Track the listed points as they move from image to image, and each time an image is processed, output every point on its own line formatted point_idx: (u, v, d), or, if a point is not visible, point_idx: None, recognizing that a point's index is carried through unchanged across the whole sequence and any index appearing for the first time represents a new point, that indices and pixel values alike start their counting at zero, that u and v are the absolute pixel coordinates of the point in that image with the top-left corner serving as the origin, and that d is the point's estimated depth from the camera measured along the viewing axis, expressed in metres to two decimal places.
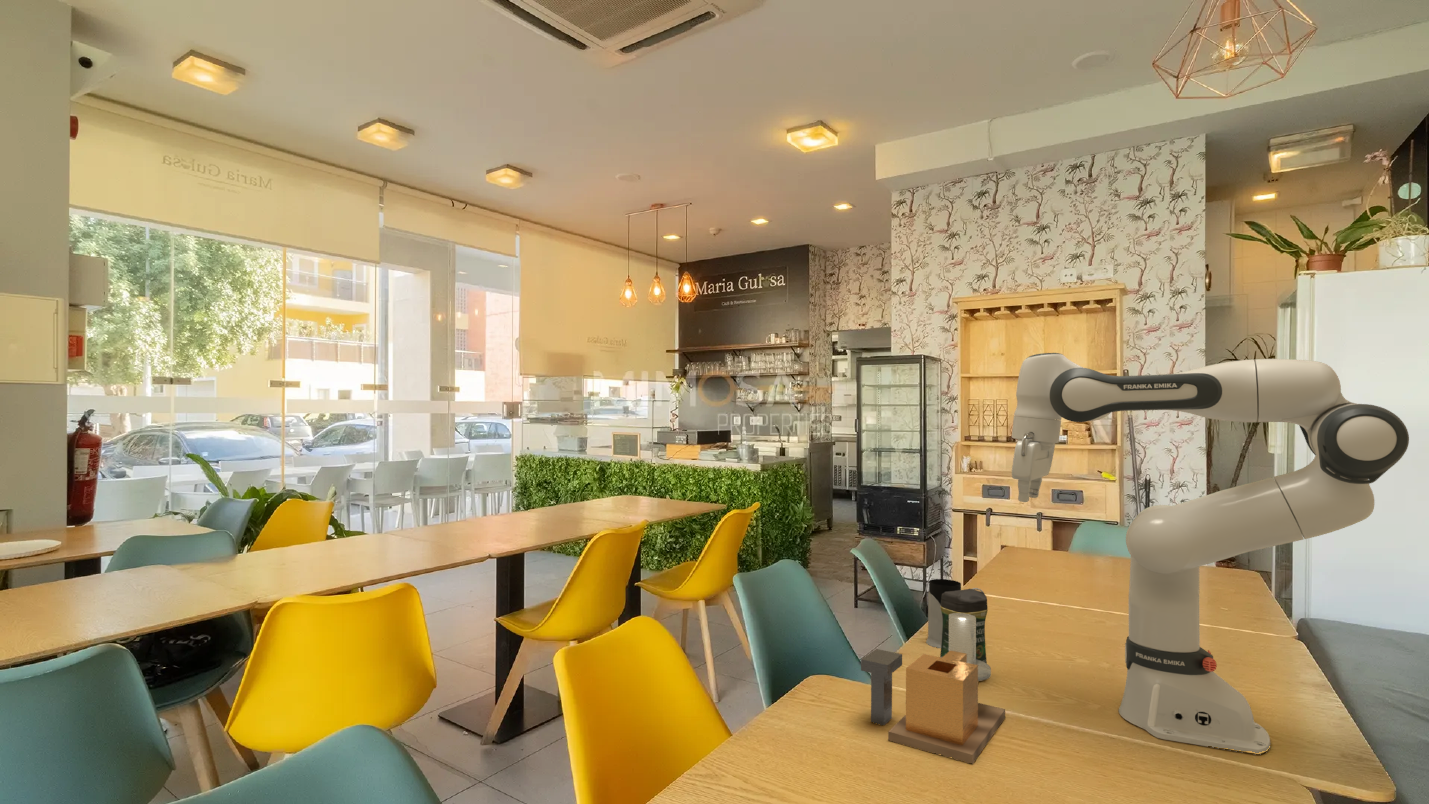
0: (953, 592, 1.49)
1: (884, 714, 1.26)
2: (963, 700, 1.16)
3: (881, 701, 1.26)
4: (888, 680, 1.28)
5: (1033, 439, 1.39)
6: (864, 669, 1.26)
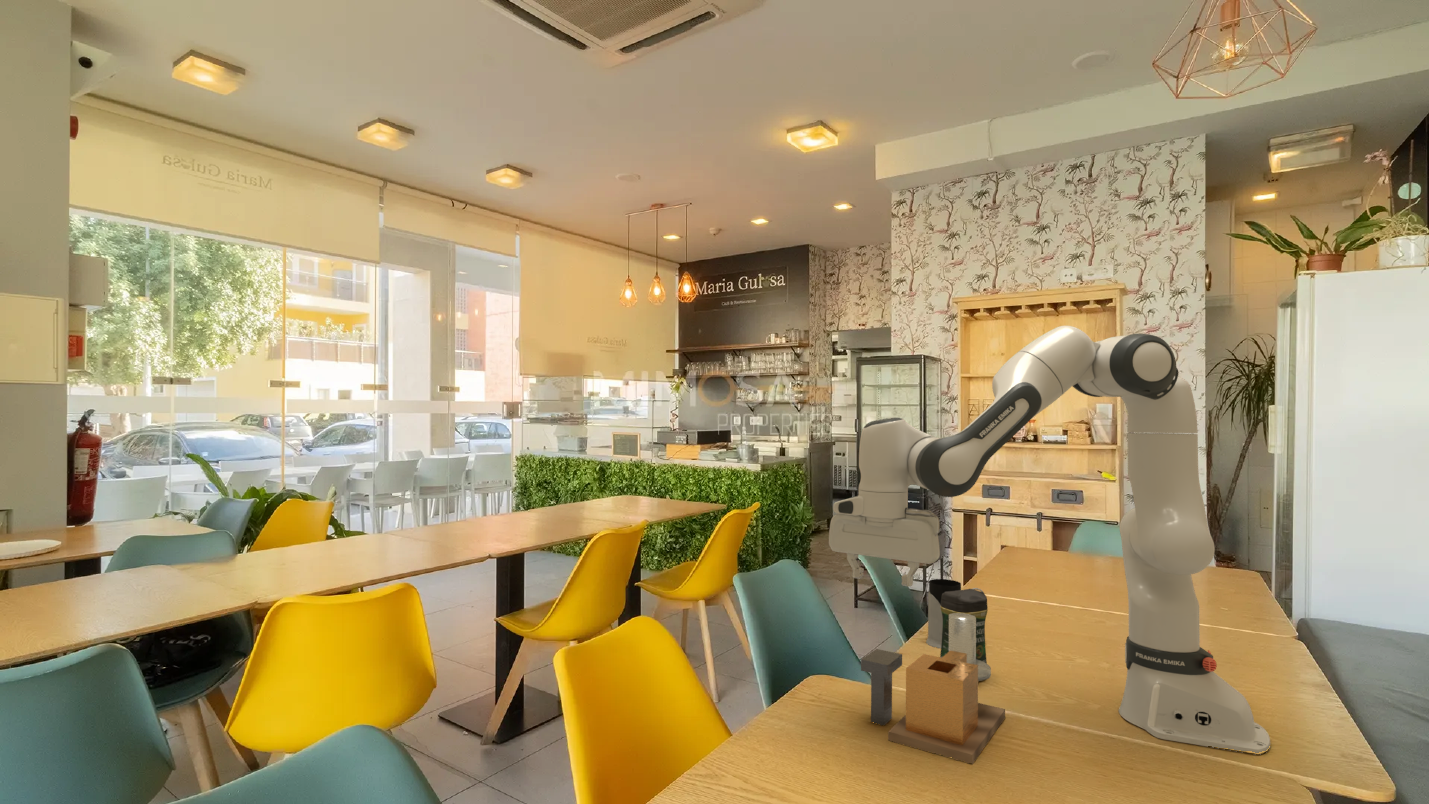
0: (953, 592, 1.49)
1: (884, 714, 1.26)
2: (963, 700, 1.16)
3: (881, 701, 1.26)
4: (888, 680, 1.28)
5: None
6: (864, 669, 1.26)
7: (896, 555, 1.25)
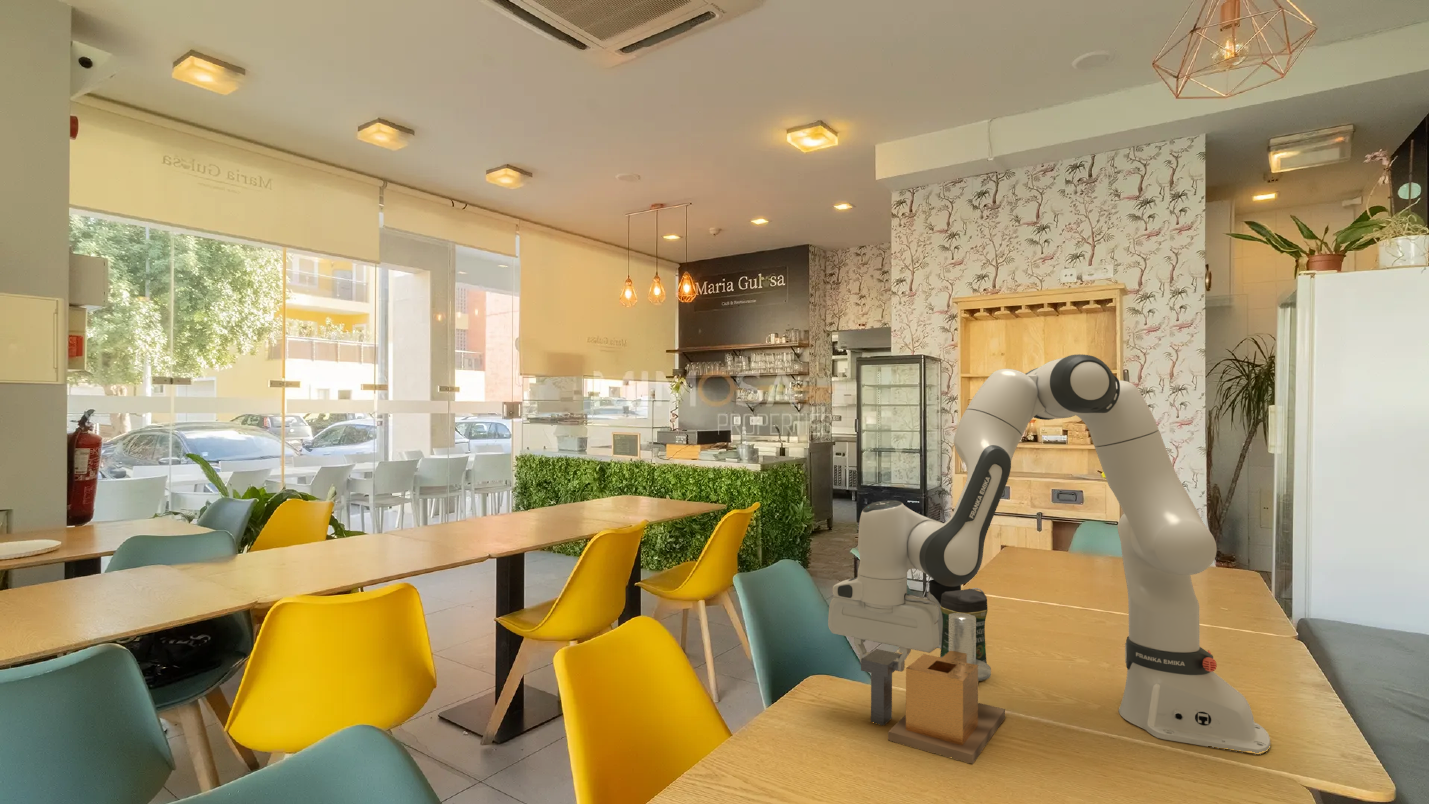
0: (953, 592, 1.49)
1: (884, 714, 1.26)
2: (963, 700, 1.16)
3: (881, 701, 1.26)
4: (888, 680, 1.28)
5: None
6: (864, 669, 1.26)
7: (896, 642, 1.25)
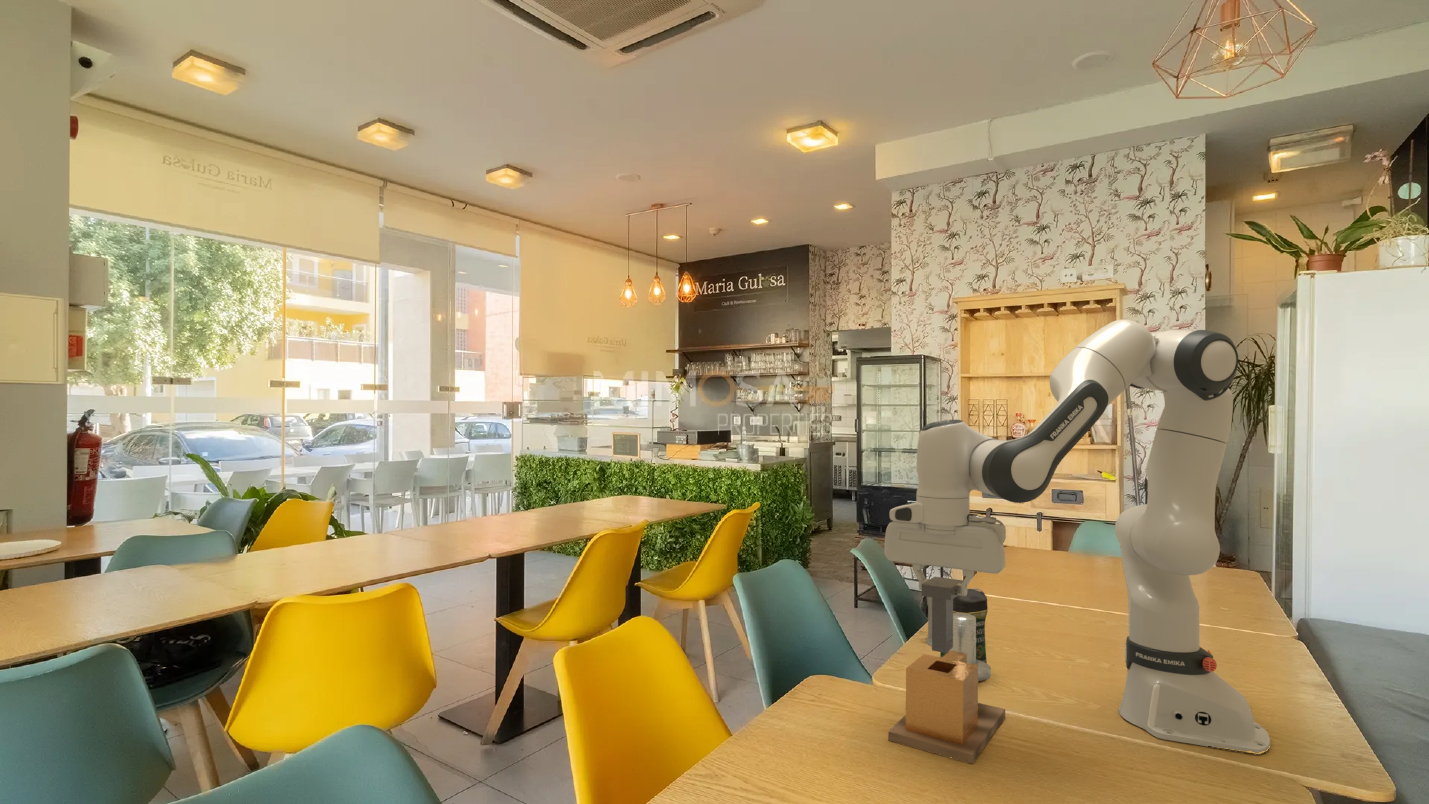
0: None
1: (947, 642, 1.20)
2: (963, 700, 1.16)
3: (943, 627, 1.20)
4: (950, 607, 1.22)
5: None
6: (925, 594, 1.20)
7: (959, 564, 1.19)
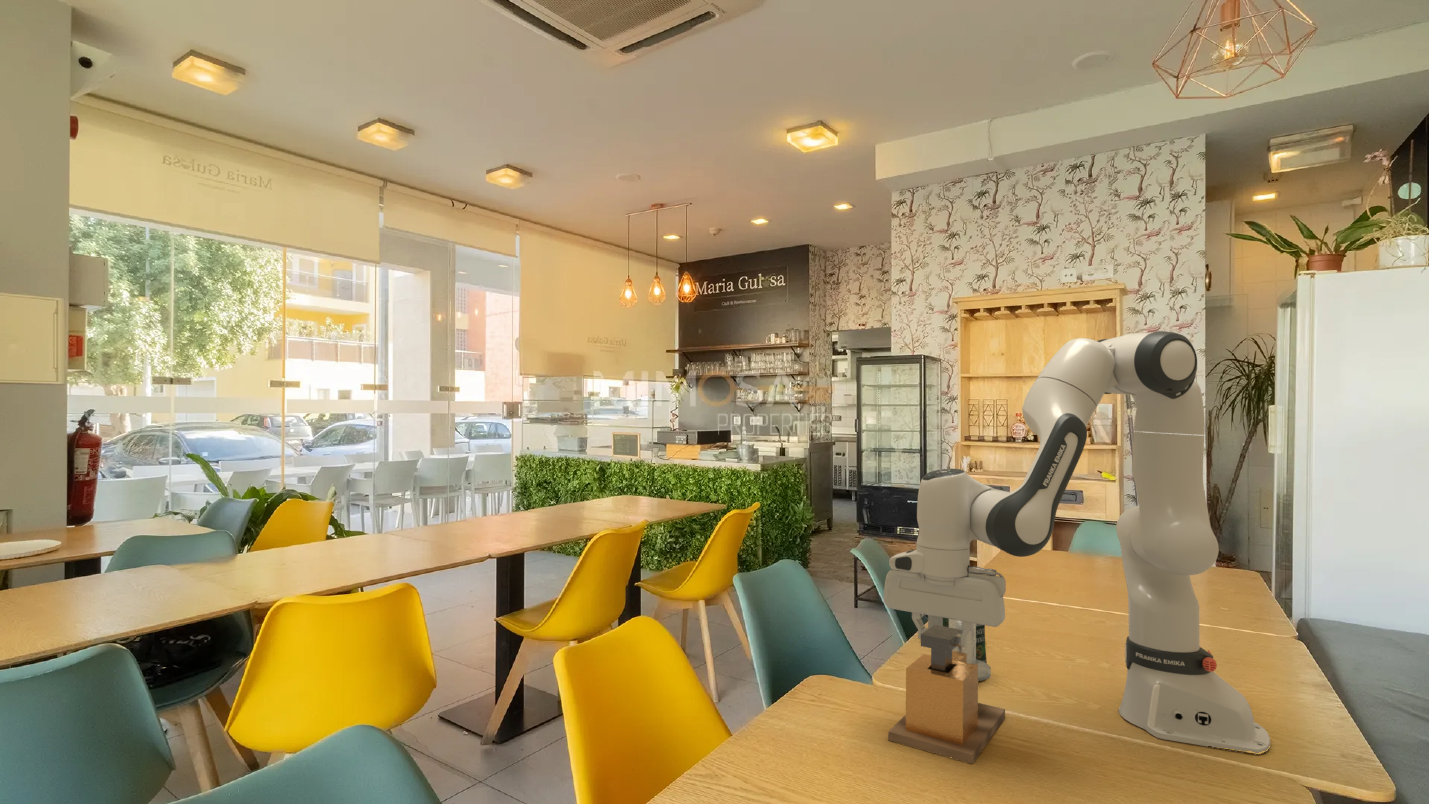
0: None
1: None
2: (963, 700, 1.16)
3: None
4: (949, 657, 1.21)
5: None
6: (924, 645, 1.20)
7: (959, 616, 1.19)
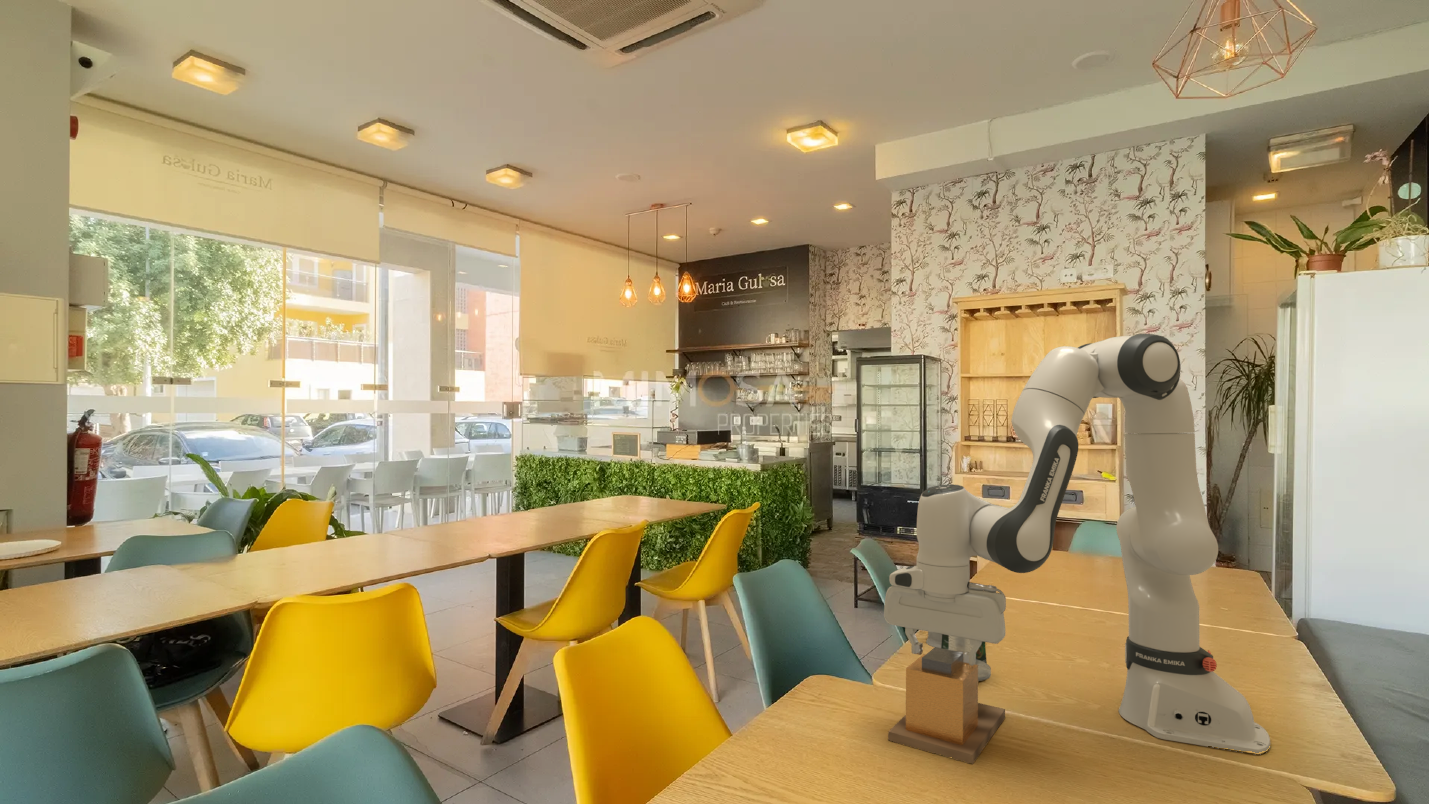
0: None
1: None
2: (963, 700, 1.16)
3: None
4: None
5: None
6: (925, 668, 1.20)
7: (959, 633, 1.18)
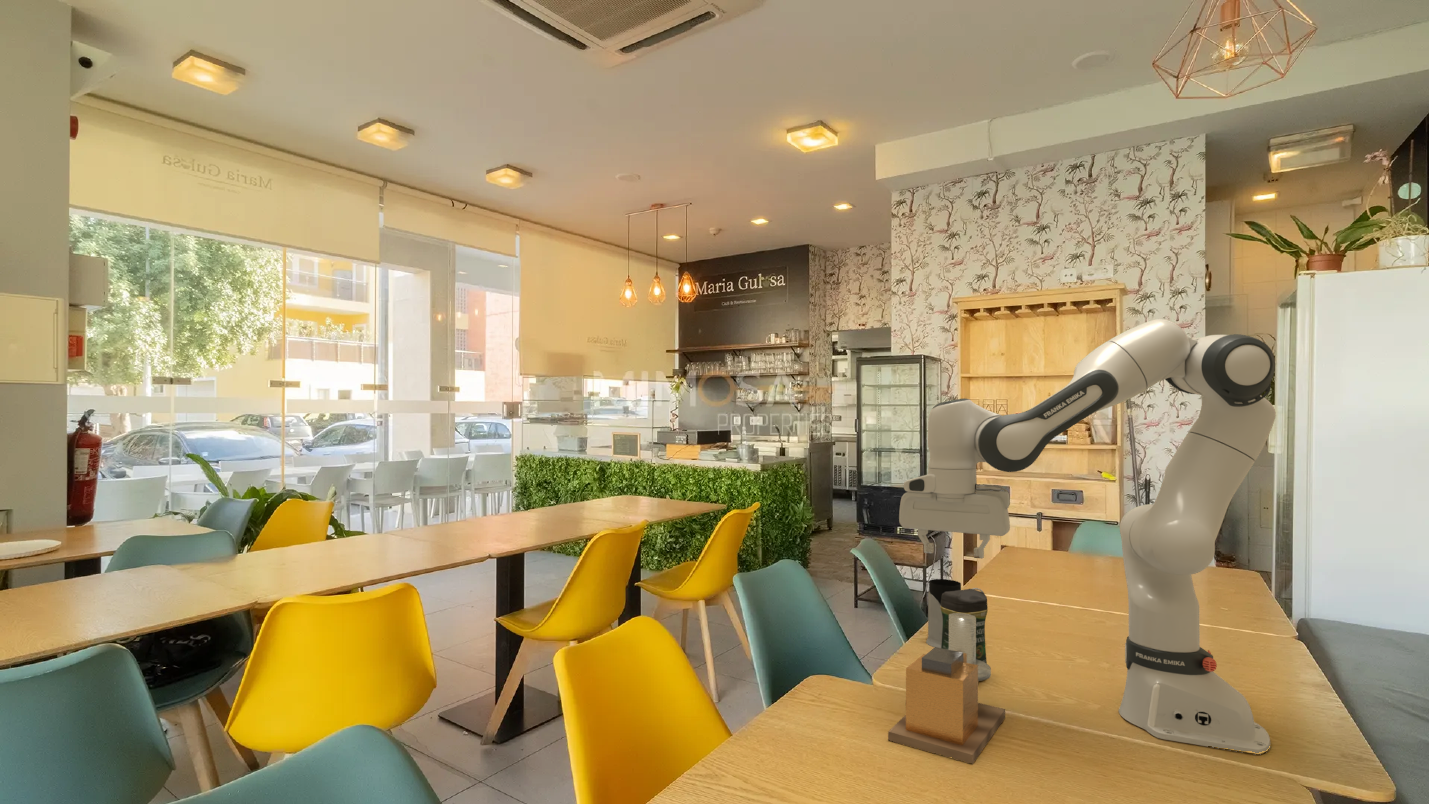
0: (953, 592, 1.49)
1: None
2: (963, 700, 1.16)
3: None
4: None
5: None
6: (925, 668, 1.20)
7: (968, 529, 1.31)
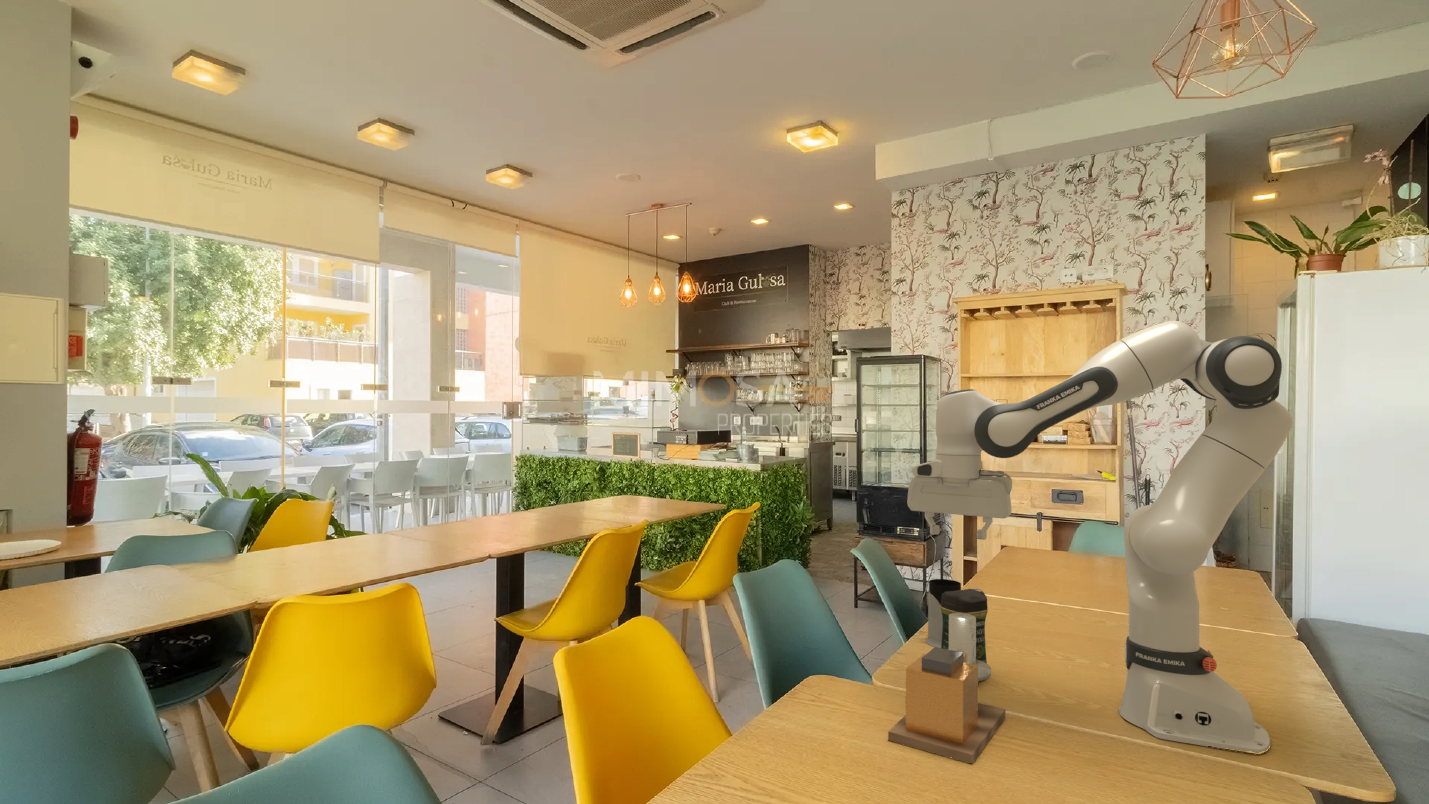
0: (953, 592, 1.49)
1: None
2: (963, 700, 1.16)
3: None
4: None
5: None
6: (925, 668, 1.20)
7: (972, 512, 1.40)
